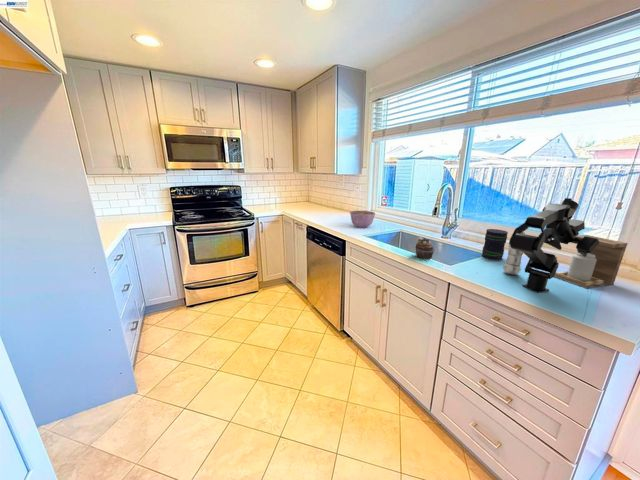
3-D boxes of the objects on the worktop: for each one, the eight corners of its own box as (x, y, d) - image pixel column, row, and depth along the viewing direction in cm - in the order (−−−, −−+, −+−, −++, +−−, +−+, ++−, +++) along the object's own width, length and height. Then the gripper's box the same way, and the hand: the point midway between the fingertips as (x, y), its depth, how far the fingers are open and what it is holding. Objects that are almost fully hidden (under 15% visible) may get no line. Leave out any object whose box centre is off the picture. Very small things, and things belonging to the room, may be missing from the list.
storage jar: (505, 258, 145) (511, 231, 141) (497, 261, 140) (503, 234, 136) (486, 253, 153) (491, 228, 149) (477, 256, 148) (482, 230, 144)
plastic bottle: (500, 273, 124) (510, 231, 118) (503, 269, 128) (512, 229, 123) (517, 277, 119) (528, 234, 114) (520, 273, 124) (529, 232, 119)
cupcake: (426, 261, 139) (429, 242, 136) (410, 256, 146) (412, 238, 143) (436, 257, 144) (439, 240, 141) (421, 253, 152) (423, 236, 149)
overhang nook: (585, 288, 110) (599, 245, 105) (549, 275, 123) (559, 236, 118) (613, 284, 114) (627, 243, 109) (575, 272, 127) (586, 234, 122)
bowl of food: (344, 226, 216) (344, 212, 213) (359, 223, 229) (360, 209, 226) (363, 230, 202) (364, 215, 199) (379, 227, 215) (380, 213, 212)
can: (562, 275, 122) (569, 250, 119) (581, 276, 121) (588, 251, 118) (574, 282, 115) (582, 255, 112) (594, 283, 114) (603, 257, 110)
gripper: (604, 217, 98) (614, 244, 103) (549, 209, 115) (561, 233, 121) (582, 239, 98) (594, 265, 103) (531, 228, 115) (544, 251, 121)
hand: (572, 252), depth 112 cm, fingers open, 9 cm apart
